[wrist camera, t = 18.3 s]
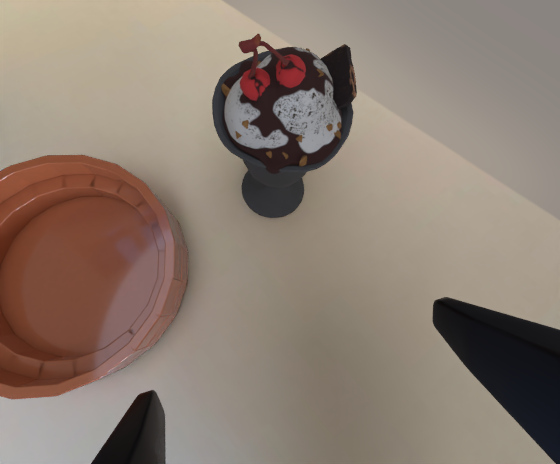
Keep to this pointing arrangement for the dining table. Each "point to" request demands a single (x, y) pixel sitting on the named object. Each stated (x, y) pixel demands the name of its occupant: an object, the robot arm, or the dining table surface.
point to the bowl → (81, 273)
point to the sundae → (283, 119)
